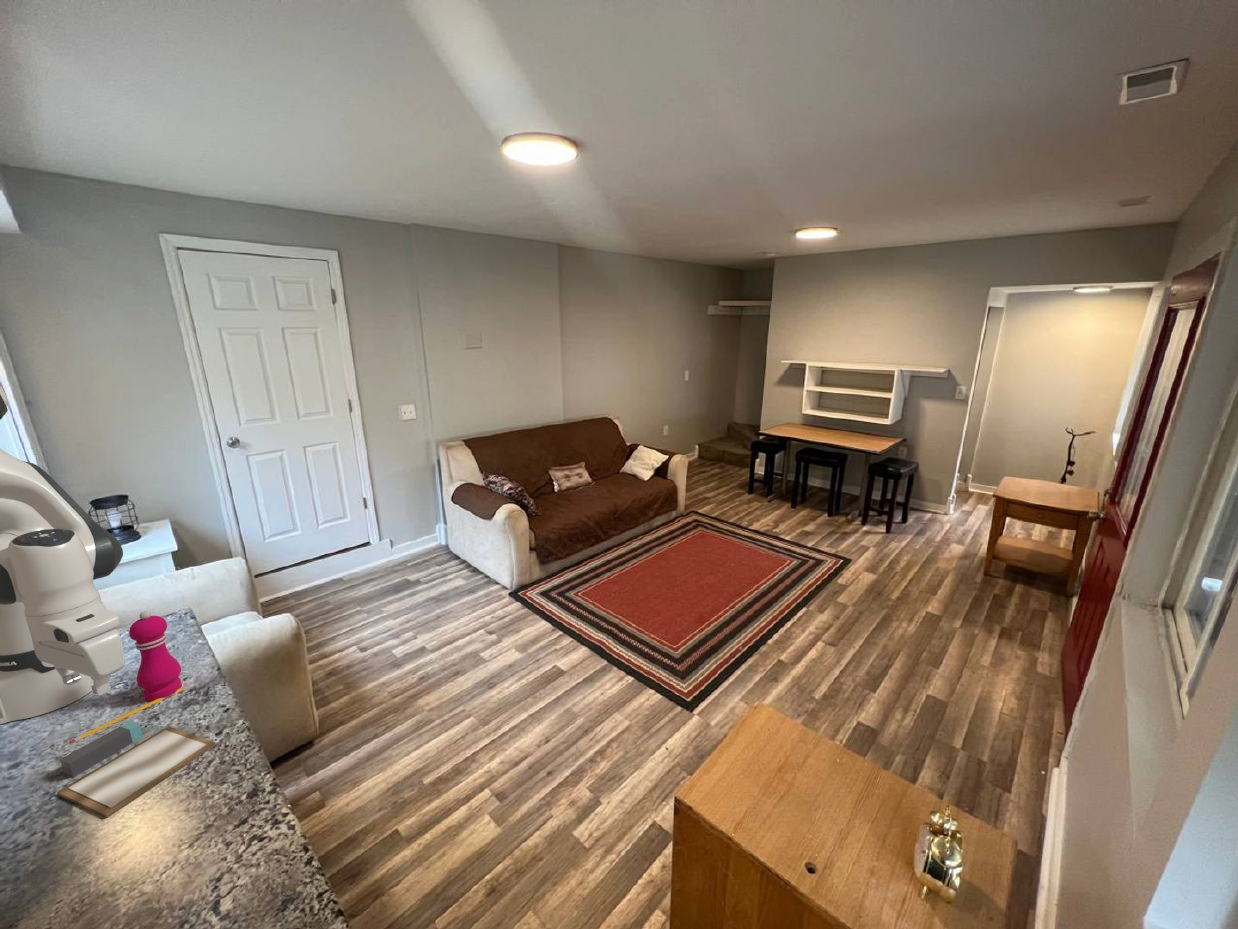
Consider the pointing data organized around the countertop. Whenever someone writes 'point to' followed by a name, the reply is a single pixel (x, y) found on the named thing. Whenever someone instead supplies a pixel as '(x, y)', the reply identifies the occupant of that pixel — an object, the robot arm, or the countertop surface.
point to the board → (135, 771)
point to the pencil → (121, 717)
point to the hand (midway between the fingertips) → (87, 687)
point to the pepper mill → (154, 658)
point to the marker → (101, 748)
